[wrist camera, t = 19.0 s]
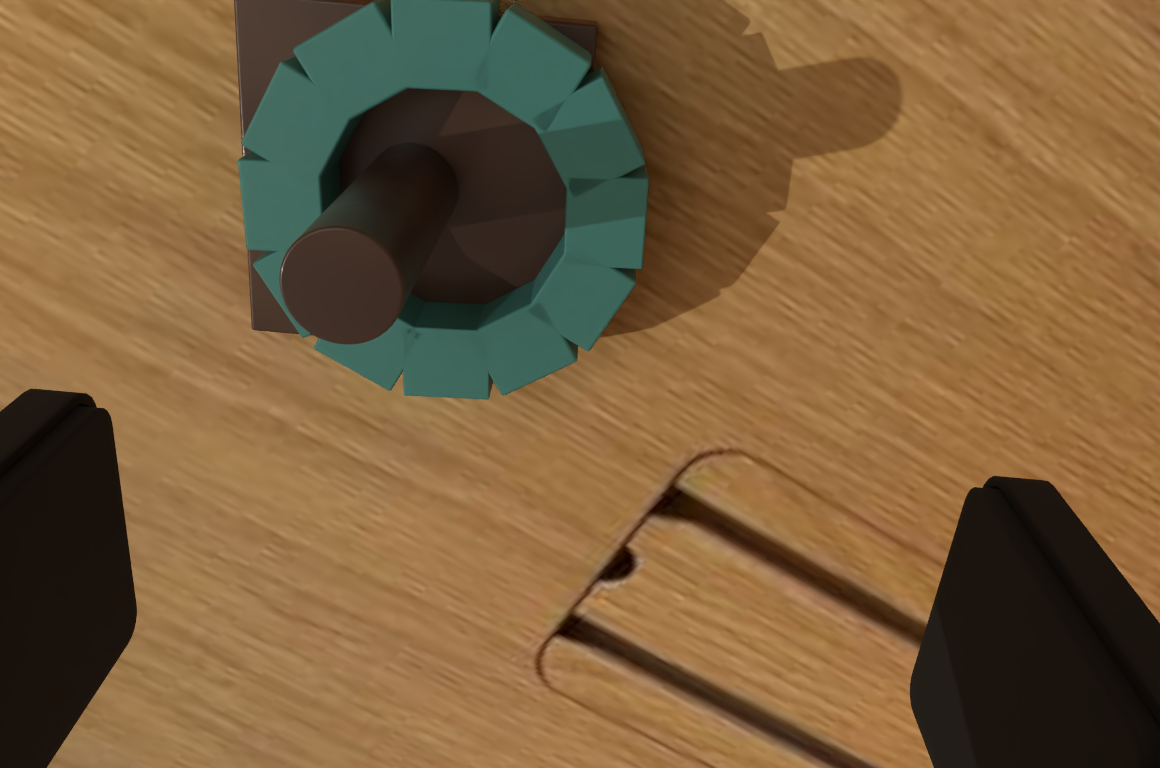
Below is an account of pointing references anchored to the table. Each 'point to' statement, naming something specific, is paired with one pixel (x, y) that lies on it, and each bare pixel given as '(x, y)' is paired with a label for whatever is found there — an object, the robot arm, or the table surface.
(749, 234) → the table surface
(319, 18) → the post
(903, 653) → the table surface
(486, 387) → the ring
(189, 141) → the table surface
